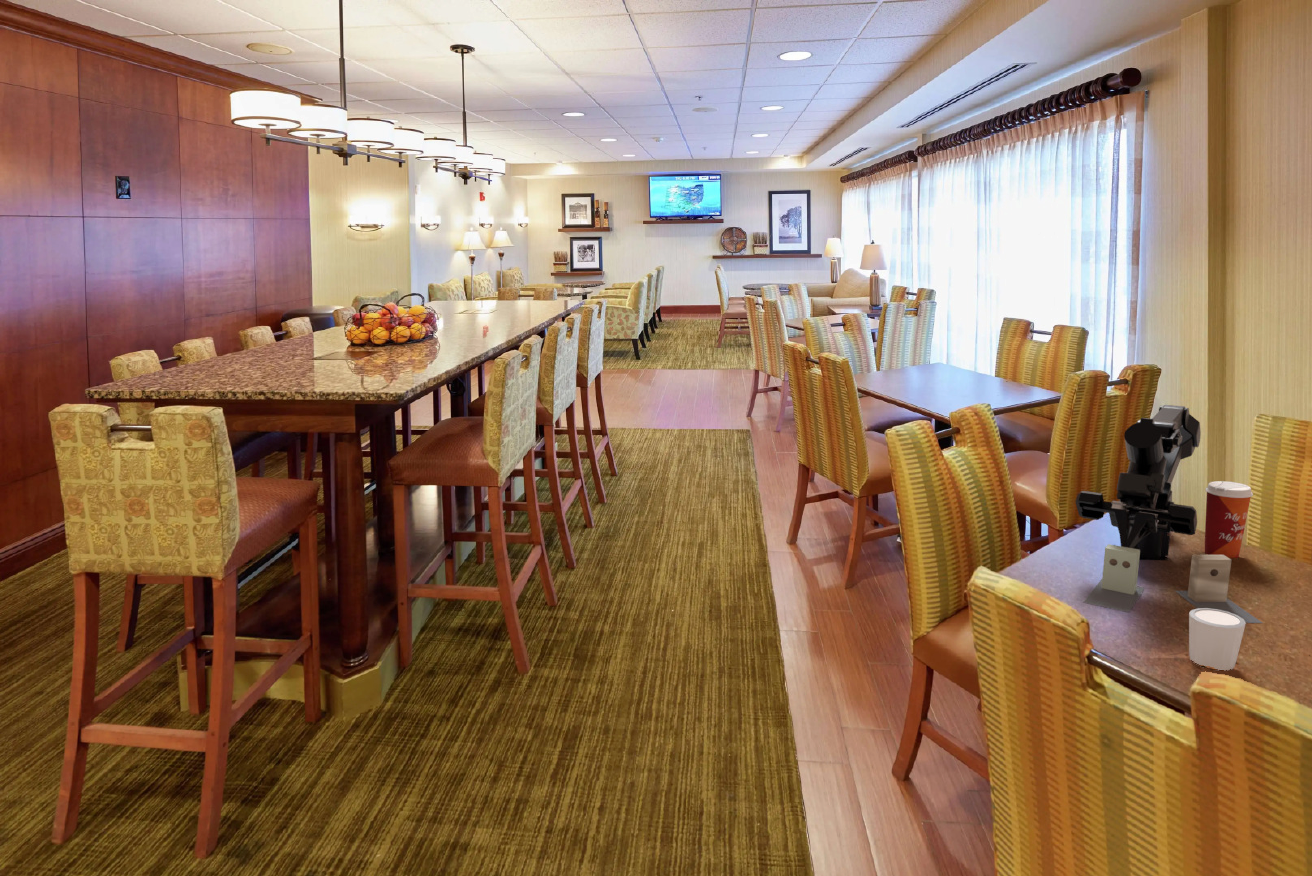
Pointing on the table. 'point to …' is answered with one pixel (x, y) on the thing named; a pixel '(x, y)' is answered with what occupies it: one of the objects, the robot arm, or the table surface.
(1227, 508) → the paper cup
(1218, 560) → the cream tile
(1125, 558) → the sage tile
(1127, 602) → the pair of gray tiles
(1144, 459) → the robot arm
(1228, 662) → the white cup
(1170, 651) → the table surface
